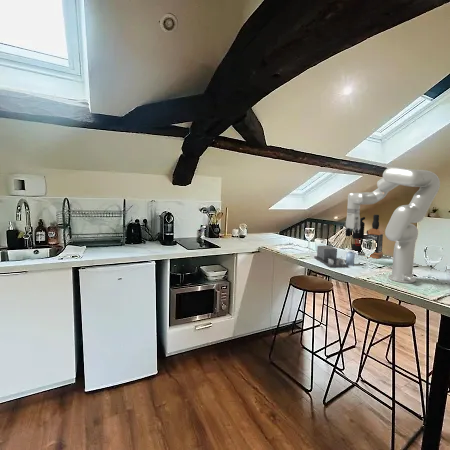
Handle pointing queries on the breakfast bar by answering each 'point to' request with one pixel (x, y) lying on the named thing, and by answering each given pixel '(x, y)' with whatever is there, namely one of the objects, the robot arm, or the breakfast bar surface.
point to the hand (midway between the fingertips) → (351, 237)
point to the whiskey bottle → (376, 237)
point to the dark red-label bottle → (359, 236)
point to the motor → (329, 257)
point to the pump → (350, 258)
